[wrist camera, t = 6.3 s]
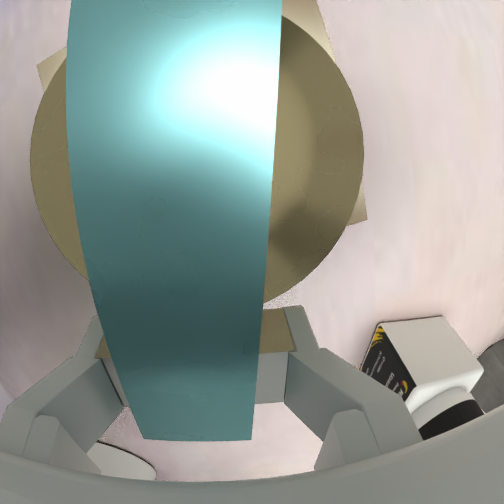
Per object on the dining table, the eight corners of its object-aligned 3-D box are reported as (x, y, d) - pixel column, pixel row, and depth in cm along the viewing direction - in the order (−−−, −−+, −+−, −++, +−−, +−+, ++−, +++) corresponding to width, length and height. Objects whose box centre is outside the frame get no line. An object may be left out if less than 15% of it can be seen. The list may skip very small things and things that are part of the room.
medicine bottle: (377, 321, 23) (448, 449, 12) (443, 314, 24) (517, 414, 13) (353, 381, 26) (398, 494, 15) (415, 370, 27) (467, 465, 16)
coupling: (303, 18, 11) (447, -76, 2) (286, 250, 16) (355, 426, 7) (114, 20, 10) (-33, -59, 1) (123, 252, 15) (49, 425, 6)
